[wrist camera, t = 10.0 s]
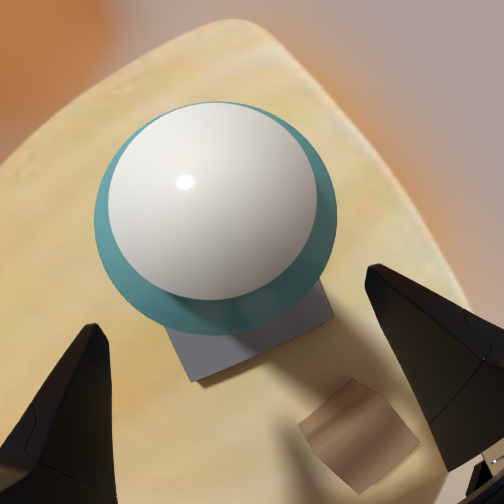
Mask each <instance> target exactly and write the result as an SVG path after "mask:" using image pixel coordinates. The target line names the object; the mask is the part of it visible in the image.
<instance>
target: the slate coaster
mask: <svg viewBox="0 0 504 504" xmlns="http://www.w3.org/2000/svg"><path fill="white" fill-rule="evenodd" d="M332 318H334V315H333V312H332V310H331V308H330V305H329V303H328V301H327V299H326V296H325V294H324V292H323V290H322V287H321V285H320V283H319V281H317V282H316V283H315V285H314V286H313V287H312V289H311V290H310V291H309V292H308V294H307V295H306V296H305V297H304V298H303V299H302V300H301V301H300V302H299V303H298V304H296V305H295V306H294V307H293V308H292V309H290V310H289V311H287V312H286V313H285V314H283V315H282V316H281V317H279V318H277V319H275V320H273V321H271V322H269V323H268V324H266V325H263V326H261V327H258V328H255V329H252V330H250V331H246V332H241V333H237V334H232V335H220V336H206V335H194V334H190V333H185V332H180V331H177V330H174V329H171V328H169V327H166V326H164V327H165V329H166V331H167V333H168V335H169V338H170V340H171V342H172V344H173V346H174V349H175V351H176V353H177V355H178V357H179V359H180V361H181V363H182V365H183V367H184V370H185V372H186V374H187V376H188V378H189V380H190V382H194V381H197V380H199V379H202V378H204V377H207V376H209V375H212V374H214V373H216V372H219V371H221V370H224V369H226V368H228V367H231V366H233V365H236V364H238V363H240V362H242V361H245V360H247V359H249V358H252V357H254V356H256V355H258V354H260V353H263V352H265V351H267V350H269V349H271V348H273V347H276V346H278V345H280V344H282V343H284V342H286V341H288V340H290V339H292V338H294V337H296V336H298V335H301V334H303V333H305V332H307V331H309V330H311V329H313V328H314V327H316V326H318V325H320V324H322V323H324V322H326V321H328V320H330V319H332Z"/></svg>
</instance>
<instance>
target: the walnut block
mask: <svg viewBox="0 0 504 504" xmlns="http://www.w3.org/2000/svg"><path fill="white" fill-rule="evenodd" d="M298 426H299V427H300V429H301V431H302V432H303V434H304V436H305V438H306V439H307V441H308V443H309V444H310V446H311V448H312V449H313V451H314V453H315V455H316V456H317V457H318V458H319V459H320V460H321V461H322V462H323V463H324V464H326V465H327V466H328V467H329V468H330V469H331V470H332V471H333V472H334V473H335V474H336V475H337V476H339V477H340V478H341V479H342V480H343V481H344V482H345V483H346V484H347V485H349V486H350V487H351V488H352V489H353V490H354V491H355V492H357V493H358V494H359V495H360V494H361V493H362V492H364V491H365V490H366V489H367V488H369V487H370V486H371V485H373V484H374V483H375V482H376V481H377V480H379V479H380V478H381V477H382V476H383V475H385V474H386V473H387V472H388V471H389V470H391V469H392V468H393V467H394V466H395V465H396V464H397V463H398V462H399V461H401V460H402V459H403V458H404V457H405V456H406V455H407V454H408V453H409V452H410V451H411V450H412V449H413V448H414V447H415V446H416V445H417V444H418V443H419V442H418V440H417V439H416V438H415V436H414V435H413V434H412V432H411V431H410V430H409V428H408V427H407V426H406V425H405V423H404V422H403V421H402V419H401V418H400V417H399V415H398V414H397V413H396V412H395V410H394V409H393V408H392V406H391V405H390V404H389V403H388V401H387V400H386V399H385V397H383V396H381V395H380V394H378V393H376V392H374V391H373V390H371V389H369V388H367V387H366V386H364V385H362V384H361V383H359V382H357V381H356V380H354V379H352V380H351V381H350V382H348V383H347V384H346V385H345V386H344V387H343V388H342V389H341V390H339V391H338V392H337V393H336V394H335V395H334V396H333V397H331V398H330V399H329V400H328V401H327V402H325V403H324V404H323V405H322V406H321V407H319V408H318V409H317V410H316V411H314V412H313V413H312V414H311V415H309V416H308V417H307V418H306V419H304V420H303V421H302V422H301V423H299V424H298Z"/></svg>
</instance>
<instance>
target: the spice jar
mask: <svg viewBox="0 0 504 504" xmlns="http://www.w3.org/2000/svg"><path fill="white" fill-rule="evenodd" d="M336 227H337V204H336V198H335V192H334V188H333V185H332V182H331V178H330V176H329V173H328V171H327V169H326V167H325V165H324V163H323V161H322V159H321V158H320V156H319V155H318V153H317V152H316V150H315V149H314V148H313V146H312V145H311V144H310V143H309V142H308V140H307V139H306V138H305V137H304V136H303V135H301V134H300V133H299V132H298V131H297V130H296V129H295V128H293V127H292V126H291V125H289V124H288V123H287V122H285V121H284V120H282V119H280V118H278V117H277V116H275V115H273V114H271V113H269V112H266V111H264V110H261V109H259V108H255V107H252V106H248V105H245V104H239V103H232V102H204V103H197V104H192V105H187V106H184V107H180V108H177V109H174V110H172V111H169V112H167V113H165V114H163V115H160V116H159V117H157V118H155V119H153V120H152V121H150V122H148V123H147V124H146V125H144V126H143V127H142V128H140V129H139V130H138V131H136V132H135V133H134V134H133V135H132V136H131V137H130V138H129V139H128V140H127V141H126V142H125V143H124V144H123V146H122V147H121V148H120V149H119V151H118V152H117V153H116V154H115V156H114V158H113V159H112V161H111V162H110V164H109V166H108V168H107V170H106V172H105V174H104V176H103V178H102V181H101V184H100V187H99V191H98V194H97V199H96V205H95V215H94V228H95V239H96V243H97V248H98V252H99V255H100V258H101V261H102V263H103V266H104V268H105V270H106V272H107V274H108V276H109V278H110V279H111V281H112V283H113V284H114V286H115V287H116V288H117V290H118V291H119V292H120V293H121V295H122V296H123V297H124V298H125V299H126V300H127V301H128V302H129V303H130V304H131V305H132V306H133V307H134V308H136V309H137V310H138V311H140V312H141V313H142V314H144V315H145V316H146V317H148V318H150V319H152V320H154V321H155V322H157V323H159V324H161V325H163V326H166V327H169V328H171V329H174V330H177V331H180V332H185V333H190V334H194V335H206V336H220V335H232V334H237V333H241V332H246V331H250V330H252V329H255V328H258V327H261V326H263V325H266V324H268V323H269V322H271V321H273V320H275V319H277V318H279V317H281V316H282V315H283V314H285V313H286V312H287V311H289V310H290V309H292V308H293V307H294V306H295V305H296V304H298V303H299V302H300V301H301V300H302V299H303V298H304V297H305V296H306V295H307V294H308V292H309V291H310V290H311V289H312V287H313V286H314V285H315V283H316V282H317V281H318V279H319V277H320V276H321V274H322V272H323V270H324V269H325V267H326V264H327V262H328V260H329V257H330V255H331V252H332V248H333V244H334V240H335V236H336Z"/></svg>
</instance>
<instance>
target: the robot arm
mask: <svg viewBox="0 0 504 504" xmlns="http://www.w3.org/2000/svg"><path fill="white" fill-rule="evenodd" d="M365 290H366V293H367V295H368V298H369V300H370V302H371V305H372V307H373V310H374V312H375V315H376V317H377V320H378V322H379V324H380V327H381V329H382V331H383V333H384V335H385V336H386V338H387V340H388V342H389V344H390V346H391V348H392V350H393V352H394V354H395V356H396V358H397V360H398V362H399V364H400V366H401V368H402V370H403V372H404V374H405V376H406V378H407V380H408V382H409V384H410V386H411V388H412V390H413V392H414V394H415V396H416V398H417V401H418V403H419V405H420V407H421V409H422V411H423V414H424V416H425V418H426V420H427V423H428V424H429V428H430V430H431V432H432V434H433V437H434V439H435V441H436V444H437V446H438V449H439V451H440V453H441V456H442V458H443V461H444V463H445V466H446V468H447V470H448V472H450V471H452V470H454V469H456V468H457V467H459V466H461V465H463V464H464V463H466V462H468V461H469V460H471V459H473V458H474V457H476V456H477V455H479V454H480V453H481V455H482V456H483V460H482V461H481V462H479V463H478V464H477V465H475V466H474V470H473V473H472V476H471V479H470V482H469V486H468V489H467V492H466V498H465V499H463V500H462V501H461V502H459V503H458V504H504V329H502V328H500V327H498V326H496V325H494V324H492V323H490V322H488V321H486V320H484V319H482V318H480V317H478V316H476V315H475V314H473V313H471V312H469V311H467V310H466V309H464V308H463V309H462V307H460V306H458V305H457V304H455V303H453V302H451V301H449V300H448V299H446V298H444V297H442V296H440V295H439V294H437V293H435V292H433V291H431V290H429V289H428V288H426V287H424V286H422V285H420V284H418V283H416V282H415V281H413V280H411V279H409V278H407V277H405V276H403V275H401V274H399V273H397V272H396V271H394V270H392V269H390V268H388V267H386V266H384V265H382V264H374V265H370V266H369V267H368V269H367V274H366V279H365ZM116 496H117V494H116V484H115V474H114V460H113V442H112V381H111V368H110V352H109V342H108V339H107V337H106V336H105V334H104V333H103V331H102V330H101V328H100V326H99V325H98V324H97V323H92V324H87V325H85V326H84V327H83V328H82V330H81V331H80V332H79V334H78V335H77V336H76V338H75V339H74V341H73V342H72V343H71V345H70V346H69V347H68V349H67V350H66V352H65V353H64V354H63V356H62V357H61V359H60V360H59V361H58V363H57V364H56V366H55V367H54V369H53V370H52V372H51V373H50V374H49V376H48V377H47V379H46V380H45V382H44V383H43V385H42V386H41V388H40V389H39V391H38V392H37V394H36V395H35V397H34V399H33V400H32V402H31V403H30V405H29V406H28V408H27V409H26V411H25V413H24V414H23V416H22V417H21V419H20V420H19V422H18V423H17V425H16V426H15V427H14V429H13V430H12V432H11V433H10V434H9V436H8V437H7V439H6V440H5V441H4V443H3V444H2V446H1V447H0V504H118V501H117V497H116Z"/></svg>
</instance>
